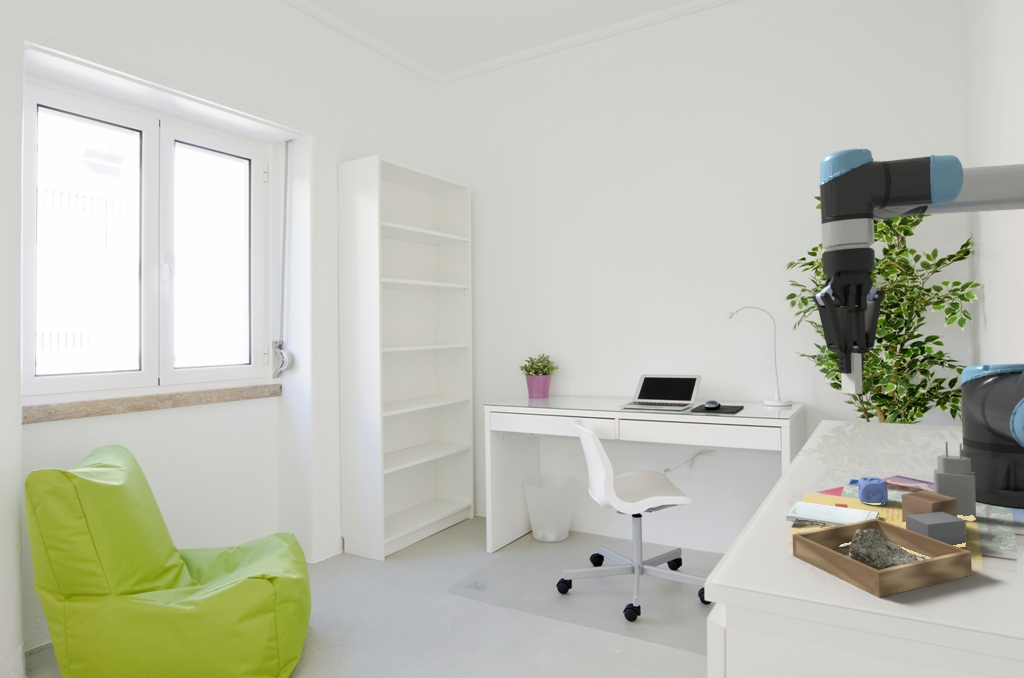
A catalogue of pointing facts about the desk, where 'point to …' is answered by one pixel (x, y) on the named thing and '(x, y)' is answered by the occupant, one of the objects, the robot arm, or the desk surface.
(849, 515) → the hard drive
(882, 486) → the decorative dice
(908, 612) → the desk surface
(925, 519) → the charcoal block
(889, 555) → the rock sample
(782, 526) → the desk surface
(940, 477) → the power adapter
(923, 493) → the walnut block
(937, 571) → the oak frame
